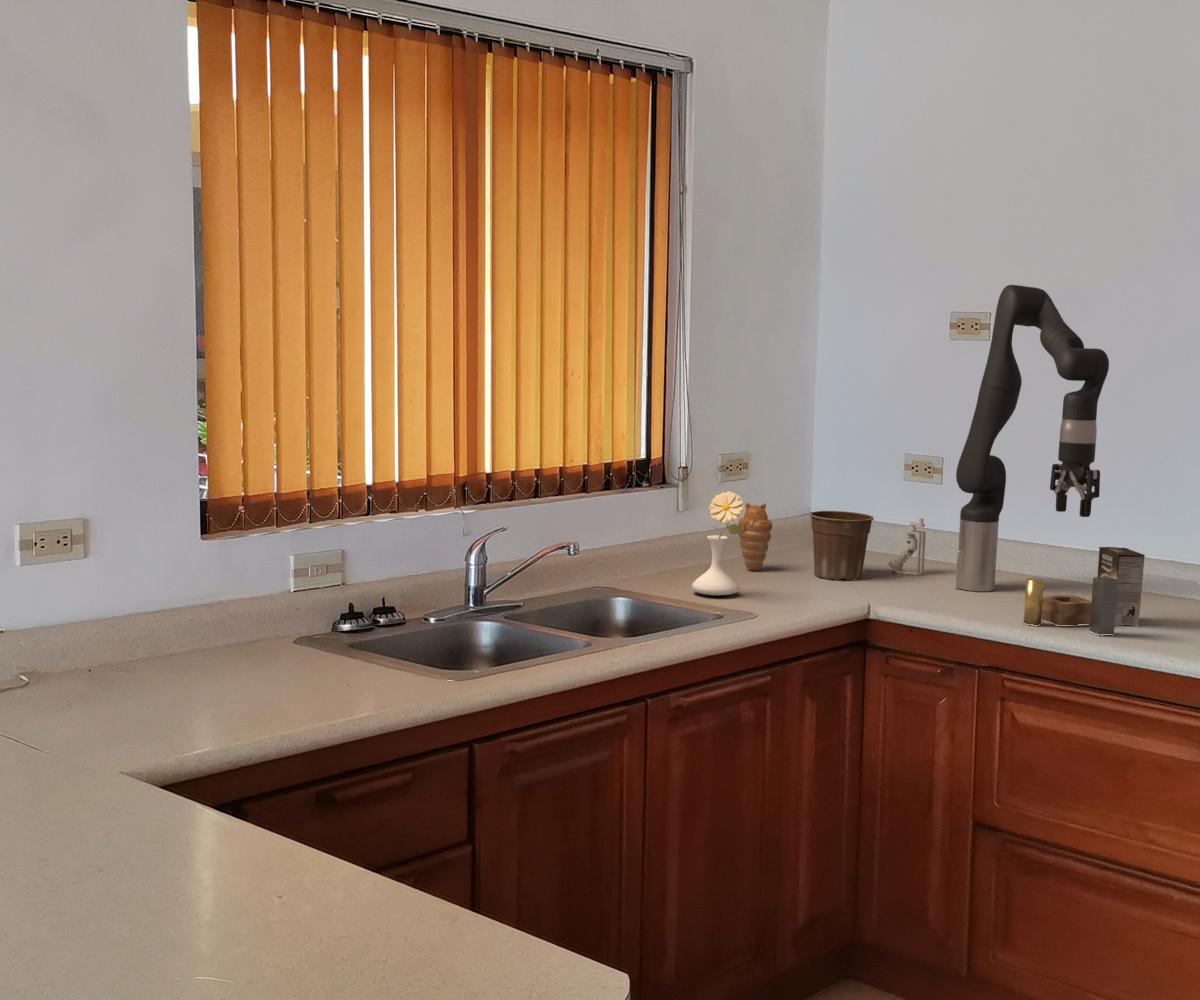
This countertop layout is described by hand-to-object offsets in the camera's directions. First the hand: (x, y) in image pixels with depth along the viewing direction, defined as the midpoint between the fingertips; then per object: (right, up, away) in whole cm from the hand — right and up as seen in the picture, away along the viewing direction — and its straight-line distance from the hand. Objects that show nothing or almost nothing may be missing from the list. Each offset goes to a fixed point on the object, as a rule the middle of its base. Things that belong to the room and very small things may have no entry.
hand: (1072, 514), depth 289 cm
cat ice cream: (-63, -16, +57) cm, 86 cm away
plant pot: (-42, -17, +51) cm, 68 cm away
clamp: (-23, -16, +59) cm, 65 cm away
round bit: (-9, -24, -1) cm, 26 cm away
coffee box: (+11, -24, +5) cm, 27 cm away
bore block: (-1, -24, +3) cm, 24 cm away
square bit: (+3, -26, -8) cm, 27 cm away
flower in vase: (-76, -20, +24) cm, 82 cm away
